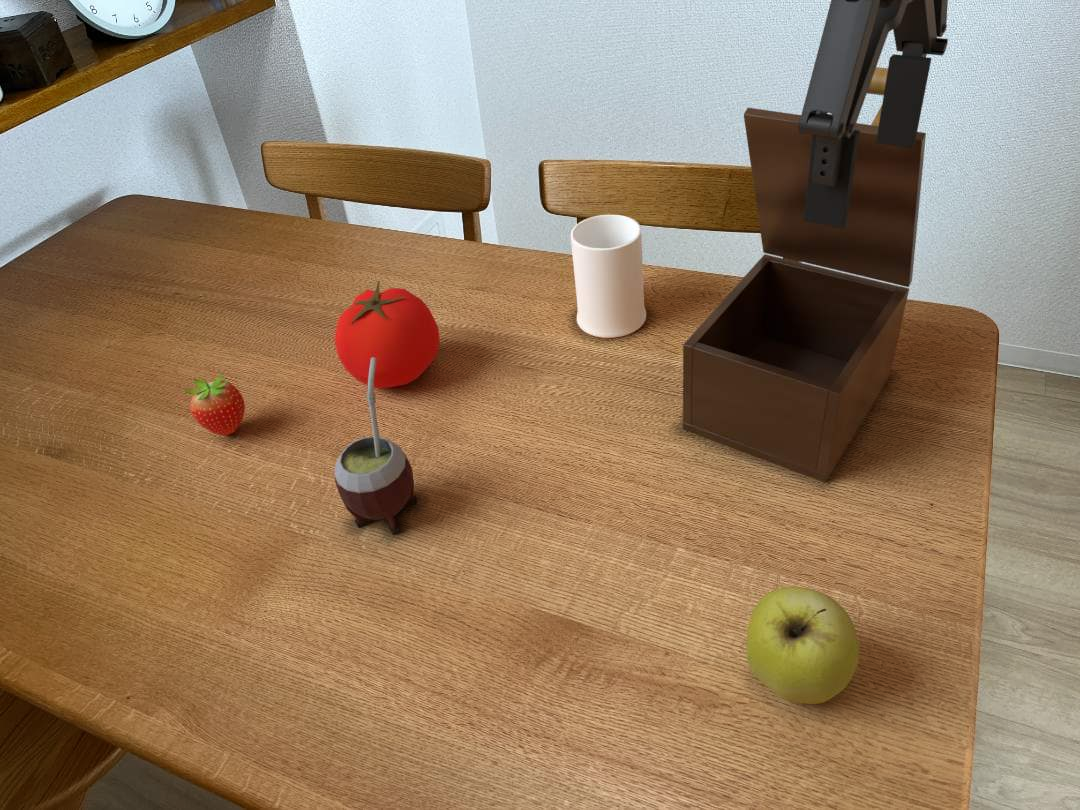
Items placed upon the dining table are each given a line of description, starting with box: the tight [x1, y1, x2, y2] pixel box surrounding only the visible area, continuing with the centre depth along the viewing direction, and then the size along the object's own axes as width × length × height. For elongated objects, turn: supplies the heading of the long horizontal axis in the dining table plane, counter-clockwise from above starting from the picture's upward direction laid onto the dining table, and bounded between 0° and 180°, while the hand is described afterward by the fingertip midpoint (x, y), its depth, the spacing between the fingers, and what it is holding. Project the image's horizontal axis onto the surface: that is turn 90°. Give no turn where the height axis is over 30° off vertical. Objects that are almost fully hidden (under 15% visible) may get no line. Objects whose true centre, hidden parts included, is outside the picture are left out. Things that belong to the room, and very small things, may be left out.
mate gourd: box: [334, 358, 418, 536], centre depth 75 cm, size 8×8×15 cm
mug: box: [570, 214, 647, 339], centre depth 97 cm, size 12×8×12 cm
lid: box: [743, 66, 927, 288], centre depth 76 cm, size 19×15×10 cm
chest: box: [682, 253, 910, 483], centre depth 81 cm, size 18×15×11 cm
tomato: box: [334, 280, 441, 389], centre depth 92 cm, size 12×12×11 cm
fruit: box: [182, 373, 246, 436], centre depth 88 cm, size 5×5×8 cm
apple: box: [746, 586, 860, 705], centre depth 59 cm, size 8×8×10 cm
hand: (862, 181), depth 59 cm, fingers open, 13 cm apart
